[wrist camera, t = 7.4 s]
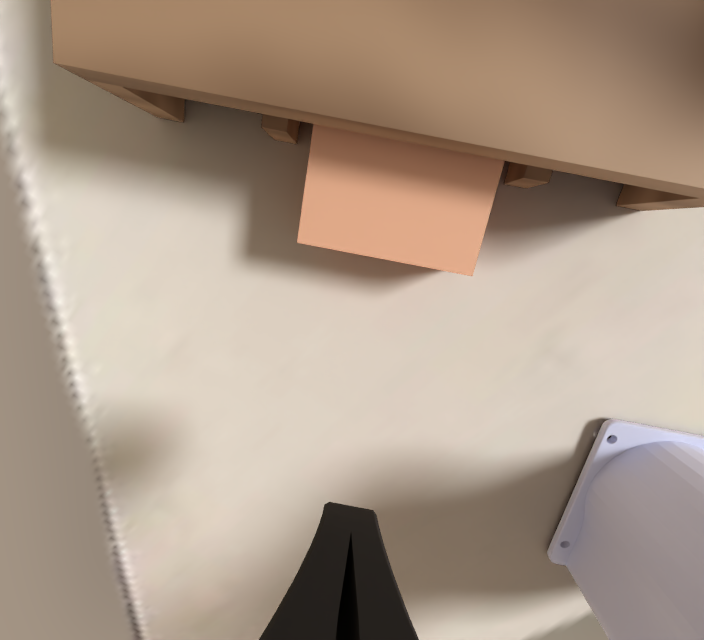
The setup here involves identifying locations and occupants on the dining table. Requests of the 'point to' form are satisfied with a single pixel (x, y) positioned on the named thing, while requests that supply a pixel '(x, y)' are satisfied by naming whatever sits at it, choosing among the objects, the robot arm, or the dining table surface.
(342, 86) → the wooden stand
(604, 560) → the robot arm
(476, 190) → the cover
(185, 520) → the dining table surface
